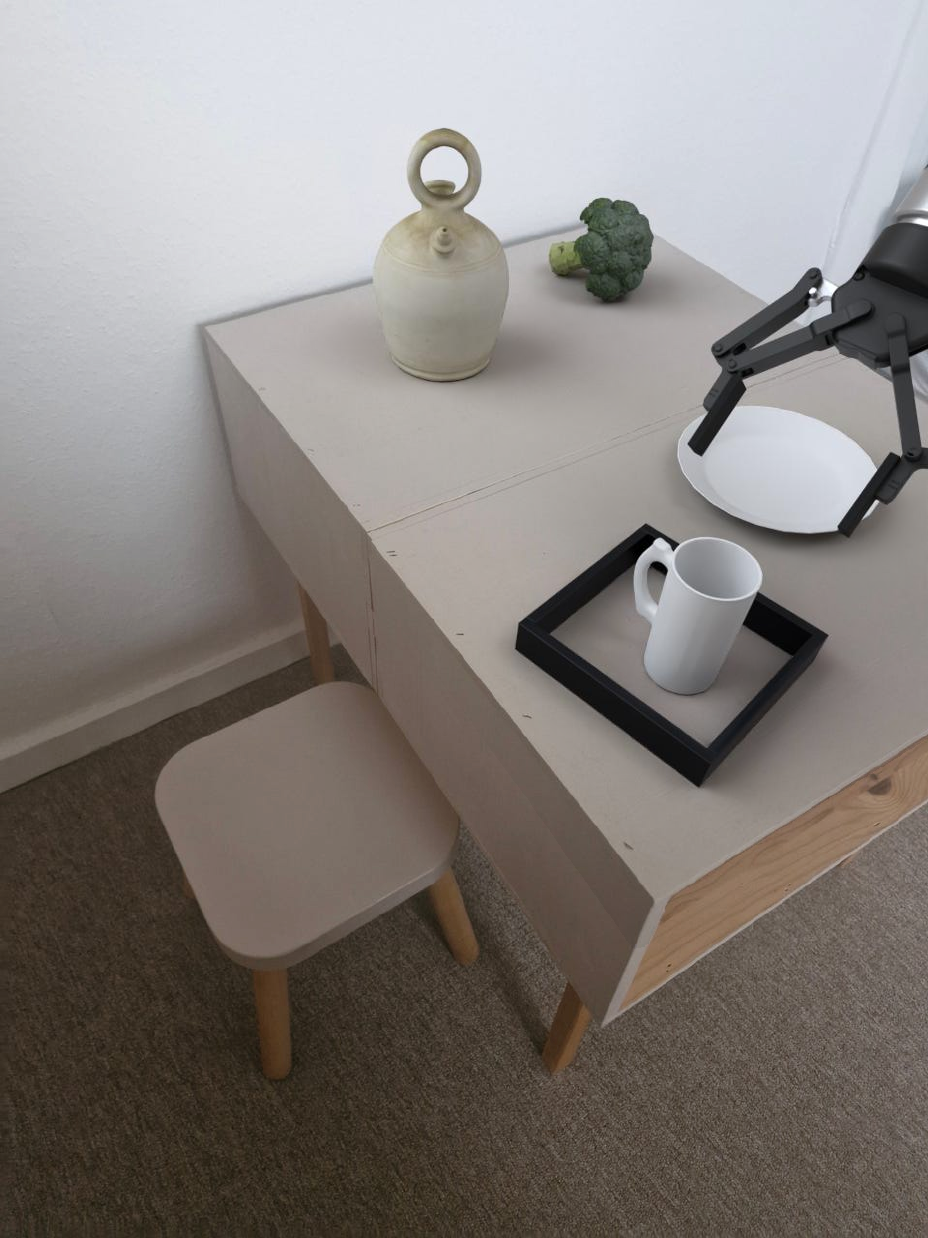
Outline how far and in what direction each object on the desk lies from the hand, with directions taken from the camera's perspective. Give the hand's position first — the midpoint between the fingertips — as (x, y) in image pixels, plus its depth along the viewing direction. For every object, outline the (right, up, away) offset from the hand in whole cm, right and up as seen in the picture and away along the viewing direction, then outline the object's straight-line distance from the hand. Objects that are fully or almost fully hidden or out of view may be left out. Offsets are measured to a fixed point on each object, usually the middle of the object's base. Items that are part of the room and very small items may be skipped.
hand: (765, 490), depth 68 cm
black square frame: (-7, -13, +6) cm, 16 cm away
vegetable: (-6, +35, +49) cm, 61 cm away
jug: (-27, +22, +36) cm, 50 cm away
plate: (+9, +4, +22) cm, 24 cm away
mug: (-7, -14, +6) cm, 16 cm away
